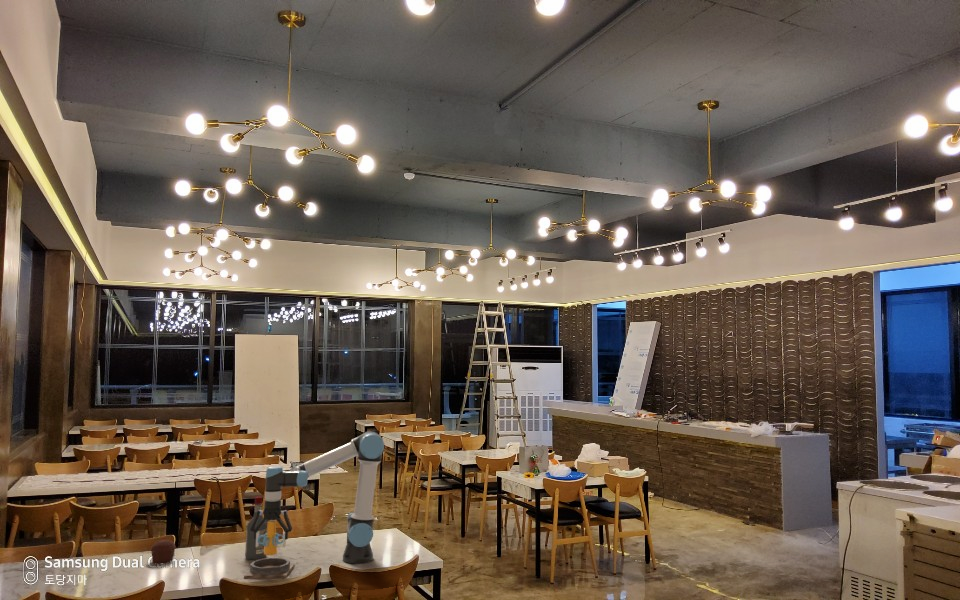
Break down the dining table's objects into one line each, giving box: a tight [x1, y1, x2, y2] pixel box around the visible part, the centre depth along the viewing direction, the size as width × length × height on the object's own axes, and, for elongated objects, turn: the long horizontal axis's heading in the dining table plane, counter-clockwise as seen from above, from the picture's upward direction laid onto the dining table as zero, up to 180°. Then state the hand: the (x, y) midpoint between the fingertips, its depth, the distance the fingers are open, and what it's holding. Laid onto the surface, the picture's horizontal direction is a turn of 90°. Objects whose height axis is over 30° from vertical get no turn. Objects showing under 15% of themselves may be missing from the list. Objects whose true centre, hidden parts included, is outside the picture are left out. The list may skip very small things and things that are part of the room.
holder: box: [243, 557, 296, 579], centre depth 320 cm, size 19×19×4 cm
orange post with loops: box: [258, 520, 283, 556], centre depth 322 cm, size 12×10×15 cm
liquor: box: [244, 495, 268, 561], centre depth 345 cm, size 9×9×30 cm
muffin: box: [150, 539, 177, 565], centre depth 336 cm, size 12×11×10 cm
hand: (270, 546), depth 321 cm, fingers closed on orange post with loops, 12 cm apart
